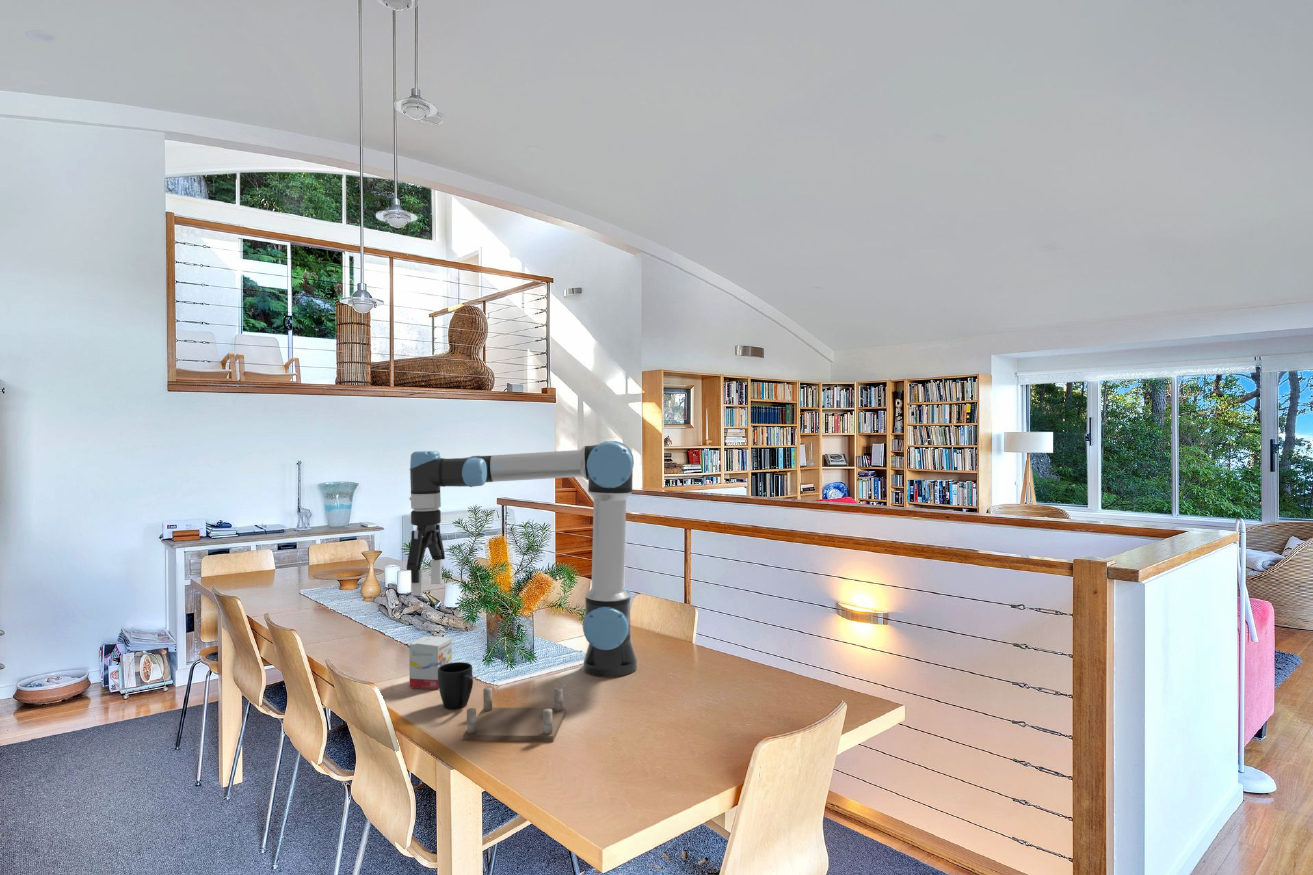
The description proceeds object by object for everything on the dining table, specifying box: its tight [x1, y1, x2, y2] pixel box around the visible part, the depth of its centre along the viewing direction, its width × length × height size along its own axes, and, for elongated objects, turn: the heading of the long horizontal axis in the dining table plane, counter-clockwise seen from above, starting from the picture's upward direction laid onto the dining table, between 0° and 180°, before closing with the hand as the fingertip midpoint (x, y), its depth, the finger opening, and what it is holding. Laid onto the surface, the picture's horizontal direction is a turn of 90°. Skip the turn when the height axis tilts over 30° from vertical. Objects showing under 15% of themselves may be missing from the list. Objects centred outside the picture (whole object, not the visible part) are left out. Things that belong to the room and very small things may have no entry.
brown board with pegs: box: [462, 687, 567, 742], centre depth 169 cm, size 20×16×6 cm
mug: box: [438, 661, 474, 711], centre depth 181 cm, size 8×12×10 cm
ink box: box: [408, 635, 453, 690], centre depth 198 cm, size 9×9×12 cm
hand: (427, 589), depth 195 cm, fingers open, 13 cm apart
